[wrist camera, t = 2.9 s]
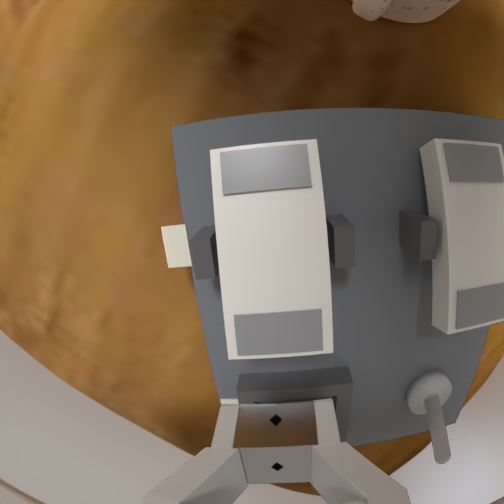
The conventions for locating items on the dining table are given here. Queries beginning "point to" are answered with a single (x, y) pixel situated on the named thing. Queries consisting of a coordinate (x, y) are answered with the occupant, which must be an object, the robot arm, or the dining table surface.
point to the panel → (345, 270)
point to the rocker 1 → (272, 249)
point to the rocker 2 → (466, 232)
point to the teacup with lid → (402, 9)
